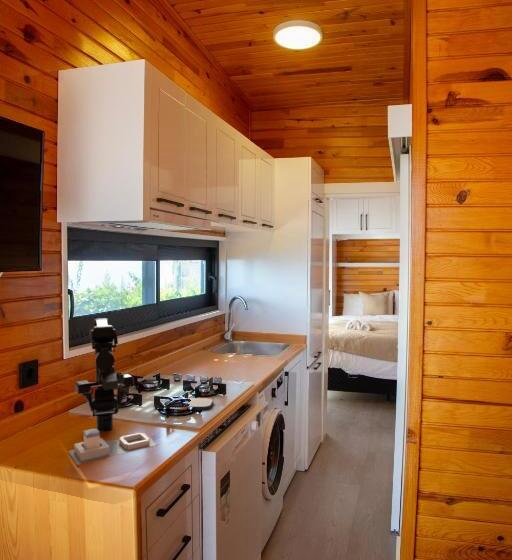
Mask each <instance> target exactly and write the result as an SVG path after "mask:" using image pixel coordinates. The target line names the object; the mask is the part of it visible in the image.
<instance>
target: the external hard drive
mask: <svg viewBox="0 0 512 560" xmlns="http://www.w3.org/2000/svg"><path fill="white" fill-rule="evenodd" d="M187 398H188V399H190V400H191V401H190V402H189V403H188V404H190V405H189V406H188V407H193V408H195V409H198V410H197V411H209V410H211V409H212V407H213V405H214V400H213V399H212V398H207V397H204V398H203V397H187Z"/></svg>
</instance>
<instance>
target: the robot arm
mask: <svg viewBox="0 0 512 560" xmlns="http://www.w3.org/2000/svg"><path fill="white" fill-rule="evenodd" d="M116 330H117V329H116V328H114V326H113V325H112V324H111V323H110V322H109V318H105V317H103V318H101V317H100V318H95V319H94V322H93V323H92V324H91V326H90V327H89V342H91V349H92V350H94V357H95V358H94V363H95V364H94V369H95V377H94V379H95V381H91V382H89V381H88V379H85V380H80V381H79V380H78V381H76V382H75V383H74V391H75V392H77V394H80V395H81V396H83V397H84V398H85V400H86V402H87V404H88V407H89V410H90V411H91V412H92V417H94V418H95V417H96V427H94V428H93V429H95V428H96V429H97V430H98V431H102V432H109V431H112V430H113V428H114V416H113V415H117V413H119V407H120V406H121V404H122V401H123V397H124V395H125V393H126V391H127V390H128V389H130V388H131V387H132V386H134V385H135V378H134V377H133V376H132V375H130V374H128V373H124V372H123V371H120V372H116V371H115V366H114V364H115V357H114V352H113V351H114V350H113V348H117V345H118V344H119V343H118V342H119V341H118V331H116ZM92 389H95V391H94V393H93V392H92ZM114 390H117V391H116V393H117V394H116V395H117V396H115V391H114ZM92 395H93V397H92Z"/></svg>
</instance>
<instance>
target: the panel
mask: <svg viewBox="0 0 512 560" xmlns="http://www.w3.org/2000/svg"><path fill="white" fill-rule="evenodd" d="M73 444H74V445H73V447H74V449H71V450H68V451H67V454H68V456H69V457H70V459H71V460H72V462H73V463H74V465H75V466H76V467H77V468H79V467H80V466H79V465H80V464H84V463H88V462H93V461H97V460H101V459H105V458H110V457H114V456H117V455H118V456H119V455H122V454H126V453H130V452H135V451H138V450H139V451H140V450H142V449H147V448H152V447H156V446H159V444H158V443H157V442H156V441H155V440H153V439H152V437H150V436H149V435H148V434H146V433H144V432H136V433H132V434H128V435H122V436H120V437H119V439H114V440H110V441H107V442H106V440H104V439H103V437H100V447H97V448H92V449H88V450H85V449H84V441H81V442H77V443H76V442H75V443H73Z"/></svg>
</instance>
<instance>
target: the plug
mask: <svg viewBox="0 0 512 560" xmlns="http://www.w3.org/2000/svg"><path fill="white" fill-rule="evenodd" d="M94 428H95V427H94ZM94 428H91V429H86V430H83V442H84V449H85V450H88V449H92V448H97V447H100V438H101V435H100V434H101V432H100V430H97V429H96V428H95V429H94Z"/></svg>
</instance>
